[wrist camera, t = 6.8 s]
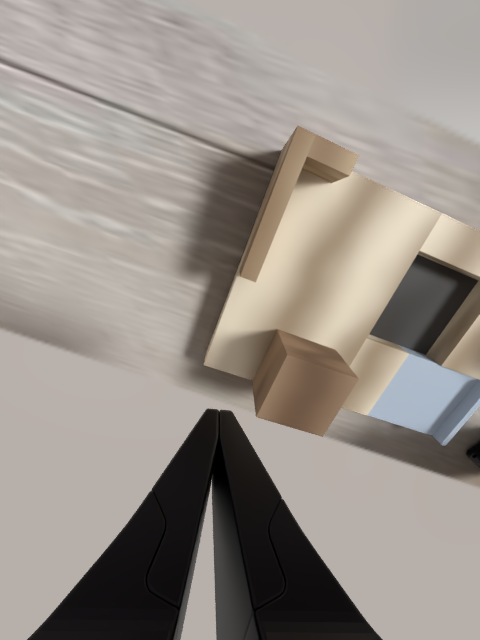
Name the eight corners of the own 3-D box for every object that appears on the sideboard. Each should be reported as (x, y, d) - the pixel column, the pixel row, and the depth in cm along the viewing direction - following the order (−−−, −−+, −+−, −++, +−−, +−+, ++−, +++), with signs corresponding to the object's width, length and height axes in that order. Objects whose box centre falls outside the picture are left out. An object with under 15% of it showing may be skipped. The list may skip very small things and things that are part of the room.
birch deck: (538, 268, 20) (618, 280, 16) (419, 421, 25) (455, 461, 21) (281, 149, 17) (297, 125, 13) (205, 353, 22) (199, 383, 18)
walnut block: (335, 349, 20) (359, 379, 16) (307, 399, 22) (322, 436, 18) (277, 329, 19) (287, 354, 15) (252, 382, 21) (256, 416, 17)
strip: (465, 369, 23) (495, 388, 21) (423, 422, 25) (445, 446, 23) (395, 343, 22) (417, 359, 20) (357, 401, 24) (372, 423, 22)
